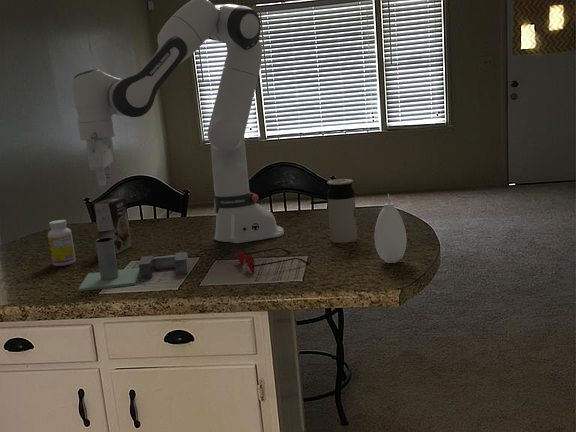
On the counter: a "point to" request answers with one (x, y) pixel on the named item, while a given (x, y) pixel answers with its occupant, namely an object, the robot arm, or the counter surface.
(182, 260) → the grey tube mount
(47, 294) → the counter surface
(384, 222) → the sauce bottle
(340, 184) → the travel mug
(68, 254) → the supplement bottle
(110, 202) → the coffee box
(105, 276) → the grey cylinder
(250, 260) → the glasses
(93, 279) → the mat
